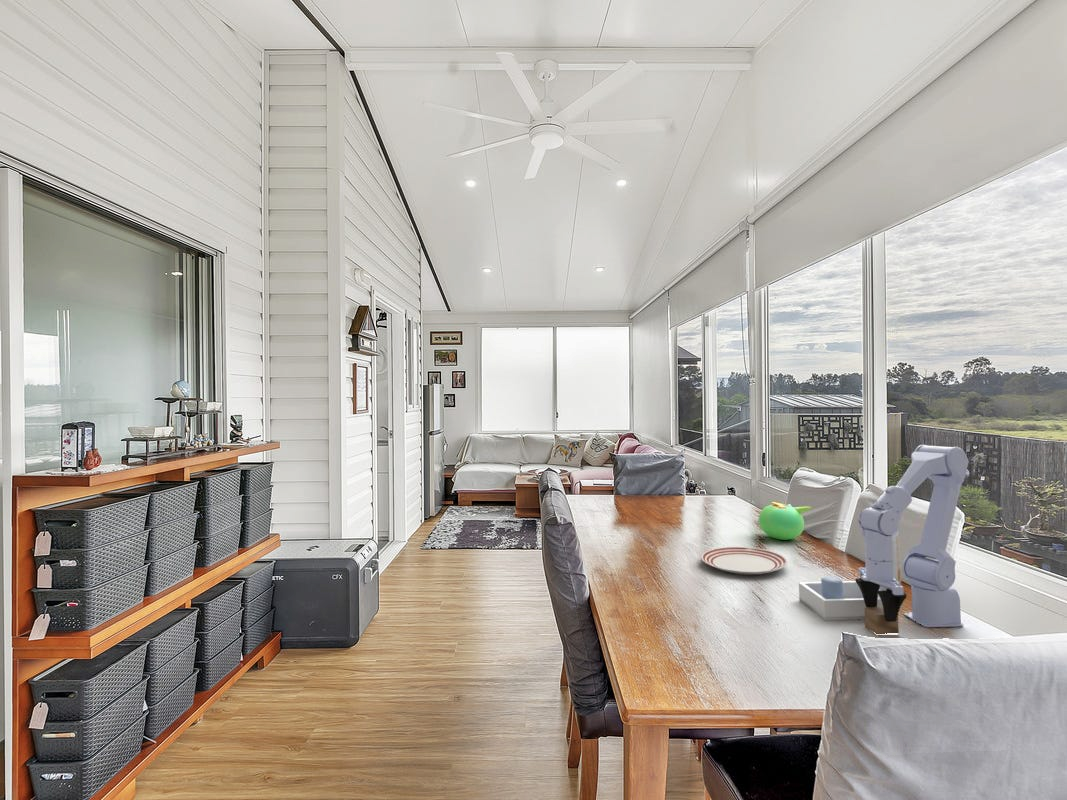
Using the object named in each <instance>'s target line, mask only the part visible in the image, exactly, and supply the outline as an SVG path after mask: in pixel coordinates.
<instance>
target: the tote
mask: <svg viewBox="0 0 1067 800" xmlns="http://www.w3.org/2000/svg"><path fill="white" fill-rule="evenodd" d="M842 582H843V599H825V598H824V597H822V586H821V581H808V582H807V581H806V582H805V581H804V582H798V596H799V599H798V600H799V601H800V602H801V603H802V604H803V603H804V605H805V606H806V607H807V608H808V609H809V610H811V611H812V612H814V613H815V614H816V615H817V616H819V617H820V618H821V619H822V620H824V621H850V620H851V621H852V620H855V621H856V620H857V619H860V620H865V611H864V607H866V605H865V602H864V598H863V595H862V592H861V590H860V588H859V586H858V584H857V583H856V581H855V580H844V581H843V580H842ZM879 591H881V590H879ZM877 607H883V605H882V601H881V599H880V596H879V594H878V599H877Z"/></svg>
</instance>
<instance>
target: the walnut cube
mask: <svg viewBox="0 0 1067 800" xmlns="http://www.w3.org/2000/svg"><path fill="white" fill-rule="evenodd" d="M864 611H865V619H864V627H865V629H867V630H868V629H869V630H868V631H870V630H871V631H873V632H875V633H876V634H885V633H886V634H887V633H900V632H899V629H900V628H899V615H898V616H897V619H896V622H887V621H886V620H885V617H884V611H883V607H864ZM871 631H870V632H871ZM873 632H872V633H873ZM876 634H875V635H876Z"/></svg>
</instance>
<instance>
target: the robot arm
mask: <svg viewBox="0 0 1067 800" xmlns="http://www.w3.org/2000/svg"><path fill="white" fill-rule="evenodd" d="M910 460H911V464H910V465H909V466H908V468H907V469H906V471H905V473H904V474H903V475H902V476H901V478H900V480H899V481H898V483H897V484H896V485H890V486H888V487H886V488H885V490H884V492H883V493H882V494H881V495H880V496H879V498H878V499H877V500H876V501H875V502H874V503H873V504H872V505H871V507H867V508H864V509H863V510H861V512H860V513H859V517H858V519H857V523H858V526H859V527H860V530H861V535H862V536H863V538H864V537H865V538H864V558H865V559H864V561H865V564H864V565H865V567H858V568H857V569H858V570H857V571H858V574H857V575H858V576H859V577H860V578H859V577H857V578H855V580H854V581H856V583H857V584H858V586H859V588H860V590H861V592H862V595H863V598H864V602H865V605H866V607H877V599H878V594H879V596H880V599H881V601H882V605H883V611H884V617H885V620H886V621H887V622H896V619H897V616H898V617H899V611H900V609H901V606H902V605H903V603H904V601H905V600H906V599H907V593H905V592H904V586H903V585H902V584H901V585H900V584H899V583H898V582H897V581H896V579H895V578H894V575H893V543H892V534H893V533H894V532H896V531H897V529H898V527H899V526H900V525H899V524H900V521H901V515H902V514H904V512H905V510H906V509H907V508H908V507H909V506H910V505H911V504H912V502H913V498H912V494H913V493H914V491H915V490H917V489H918V487H919V486H920V485H921V484H922V483H924V482H925V480H927V479H929V480H931V482H932V484H933V485H934V486H933V489H932V493H931V497H930V501H929V506H928V509H927V513H926V518H925V521H924V522H925V523H924V526H923V529H922V530H923V531H922V534H921V538H920V542H919V543H918V544H915V545H913V546H911V547H910V548H909V549H908V552H907V555H906V556H905V557H904V559H903V561H902V563H901V564H902V565H901V568H902V569H901V571H902V573H903V575H904V576H905V577H906V578H907V582H908V583H910V584H911V585H910V586H911V588H910V589H911V591H910V593H911V612H904V613H903V615H904V616H905V617H907V618H909V619H911V620H912V621H913V622H915V621H916V623H917V624H919V625H920V624H921V626H922V627H924V628H944V627H945V628H948V627H949V628H950V627H964V624H963V623H962V622H961V619H962V618H961V599H960V595H959V593H958V591H957V589H956V588H955V587H953V586H954V583H955V581H956V571H955V570H956V568H955V567H956V563H957V561H956V560H955V559H954V558H953V557H952V556H951V555H950V553H949V552H948V551H947V547H948V543H949V538H950V534H951V530H952V526H953V522H954V518H955V513H956V509H957V506H958V505H957V504H958V501H959V497H960V492H961V489H962V483H964V482H965V478H966V474H967V470H968V465H969V462H970V461H969V459H968V456H967V455H966V452H965V450H964V449H963V448H961V447H959V446H953V447H952V446H939V445H938V446H937V445H927V444H920V445H918V446H917V447H916V448H915V449H914V451H913V452H912V453H911V459H910ZM880 586H882V587H884V588H886V591H879V588H880Z"/></svg>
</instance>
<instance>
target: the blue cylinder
mask: <svg viewBox="0 0 1067 800" xmlns="http://www.w3.org/2000/svg"><path fill="white" fill-rule="evenodd" d="M820 580H821V581H820V582H821V586H822V597H824V598H825V599H843V582H842V581H843V580H842V579H840V578H836V577H831V576H829V577H828V576H826V577H825V576H823V577H822V578H821V579H820Z"/></svg>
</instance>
